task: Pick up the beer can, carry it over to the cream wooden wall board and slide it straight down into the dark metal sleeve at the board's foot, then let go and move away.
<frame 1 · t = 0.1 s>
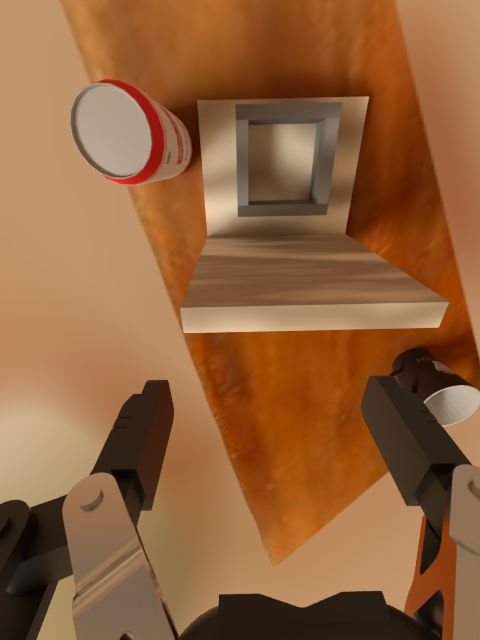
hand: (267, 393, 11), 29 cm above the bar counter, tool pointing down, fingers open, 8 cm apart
coffee mug: (405, 358, 47), on the bar counter
beer can: (167, 146, 31), on the bar counter
can rack: (278, 164, 32), on the bar counter
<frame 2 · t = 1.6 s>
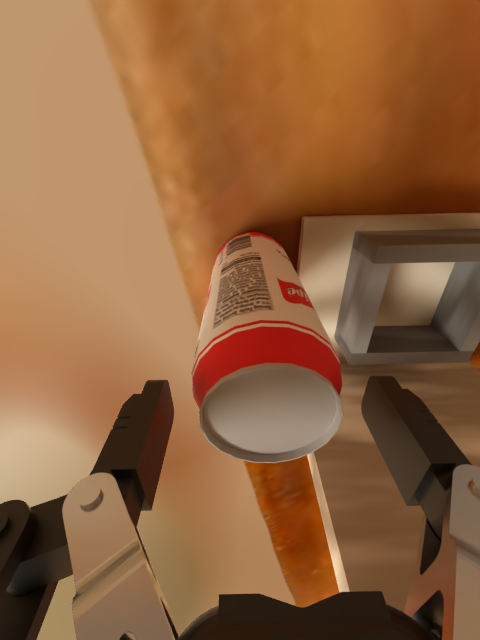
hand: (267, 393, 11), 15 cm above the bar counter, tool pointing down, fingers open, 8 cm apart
beer can: (250, 265, 23), on the bar counter
can rack: (395, 284, 24), on the bar counter
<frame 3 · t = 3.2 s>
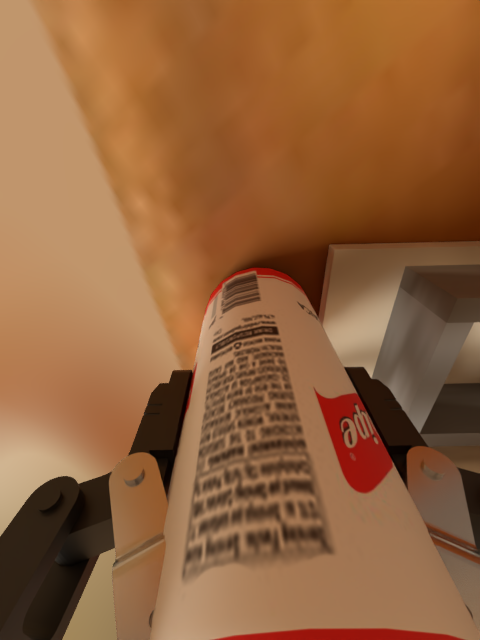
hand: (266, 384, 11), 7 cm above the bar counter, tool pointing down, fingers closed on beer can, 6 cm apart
beer can: (256, 308, 17), on the bar counter, touching gripper
can rack: (450, 331, 18), on the bar counter
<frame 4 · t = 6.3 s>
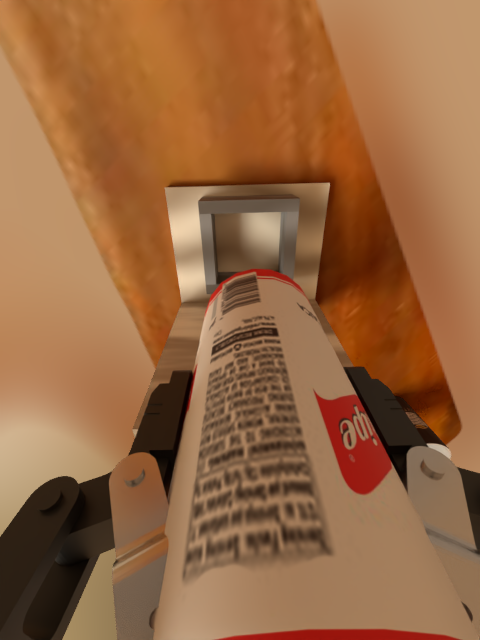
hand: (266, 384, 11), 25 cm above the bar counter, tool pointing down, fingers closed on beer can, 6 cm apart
coffee mug: (382, 404, 48), on the bar counter
beer can: (256, 308, 17), point 18 cm above the bar counter, touching gripper
can rack: (247, 239, 33), on the bar counter
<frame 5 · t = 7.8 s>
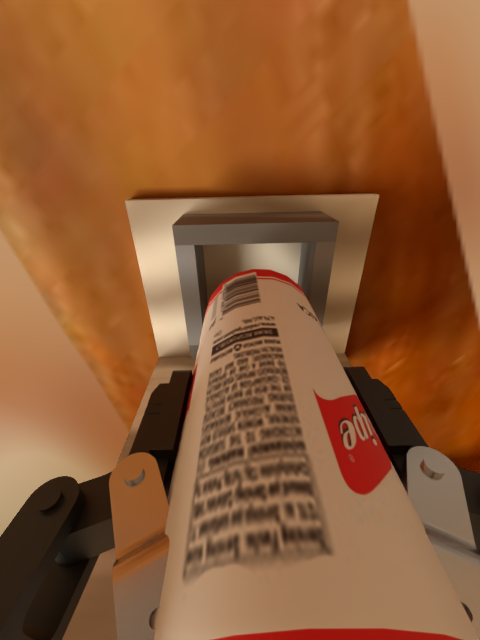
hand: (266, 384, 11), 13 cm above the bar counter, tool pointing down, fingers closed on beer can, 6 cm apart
beer can: (256, 309, 17), point 7 cm above the bar counter, touching gripper
can rack: (251, 273, 23), on the bar counter
when the fingers open (9 cm above the bar counter, at t = 9.4 s): beer can stays where it is, resting on can rack.
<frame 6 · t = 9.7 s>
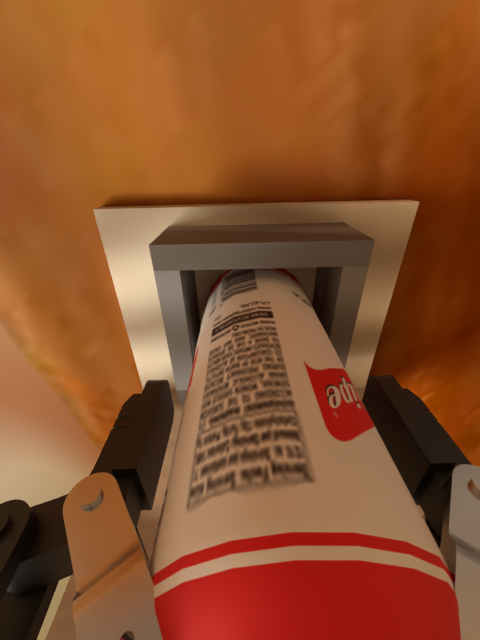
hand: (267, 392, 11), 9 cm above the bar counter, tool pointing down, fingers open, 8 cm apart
beer can: (254, 300, 18), point 1 cm above the bar counter, touching can rack
can rack: (254, 296, 19), on the bar counter
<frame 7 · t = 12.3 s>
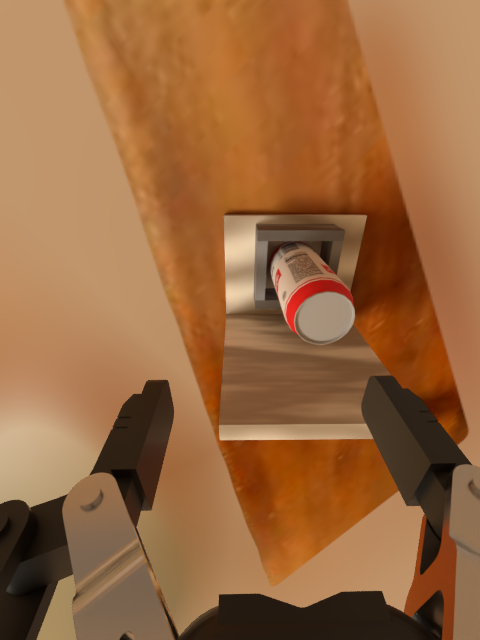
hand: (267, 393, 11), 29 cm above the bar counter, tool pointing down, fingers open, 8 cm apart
beer can: (290, 261, 37), point 1 cm above the bar counter, touching can rack
can rack: (289, 260, 38), on the bar counter
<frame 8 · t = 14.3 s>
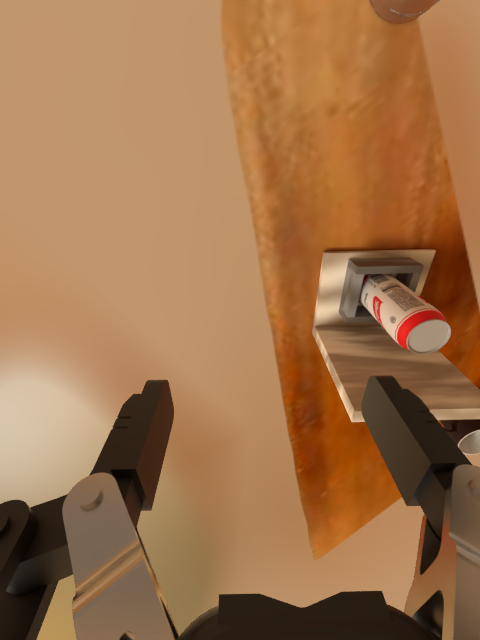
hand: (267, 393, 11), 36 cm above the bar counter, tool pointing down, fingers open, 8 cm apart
coffee mug: (442, 400, 63), on the bar counter
beer can: (371, 285, 47), point 1 cm above the bar counter, touching can rack
can rack: (369, 283, 48), on the bar counter
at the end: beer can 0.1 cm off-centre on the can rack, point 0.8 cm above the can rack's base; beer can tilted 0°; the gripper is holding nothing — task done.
